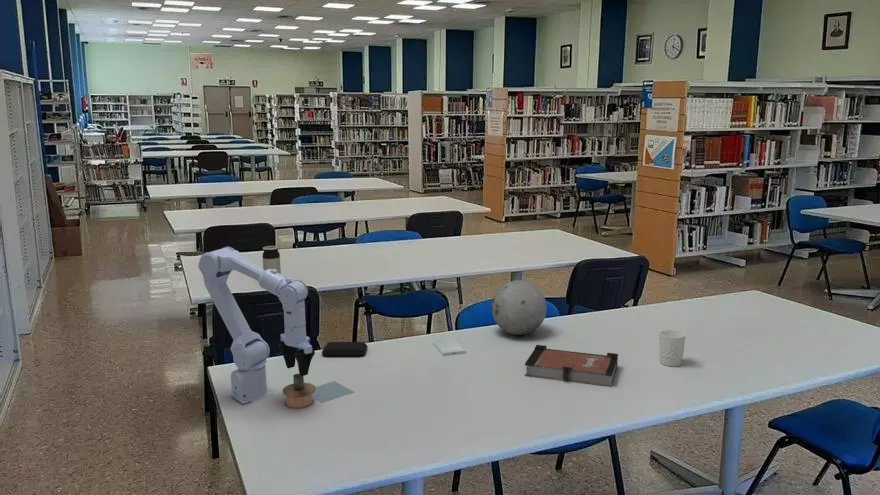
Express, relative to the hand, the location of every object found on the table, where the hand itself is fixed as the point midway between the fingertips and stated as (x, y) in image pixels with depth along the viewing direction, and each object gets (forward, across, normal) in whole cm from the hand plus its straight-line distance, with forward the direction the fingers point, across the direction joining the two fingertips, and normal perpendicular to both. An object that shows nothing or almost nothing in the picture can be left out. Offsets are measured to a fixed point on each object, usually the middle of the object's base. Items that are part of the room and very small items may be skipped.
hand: (297, 371), depth 190 cm
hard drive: (+10, +6, -61) cm, 62 cm away
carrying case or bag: (+10, +26, -32) cm, 43 cm away
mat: (+9, 0, -10) cm, 14 cm away
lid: (+6, -1, 0) cm, 6 cm away
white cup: (+9, -52, -106) cm, 119 cm away
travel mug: (+10, +130, -57) cm, 143 cm away
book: (+10, -36, -76) cm, 85 cm away
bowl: (+10, -1, 0) cm, 10 cm away
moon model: (+10, +1, -91) cm, 91 cm away
